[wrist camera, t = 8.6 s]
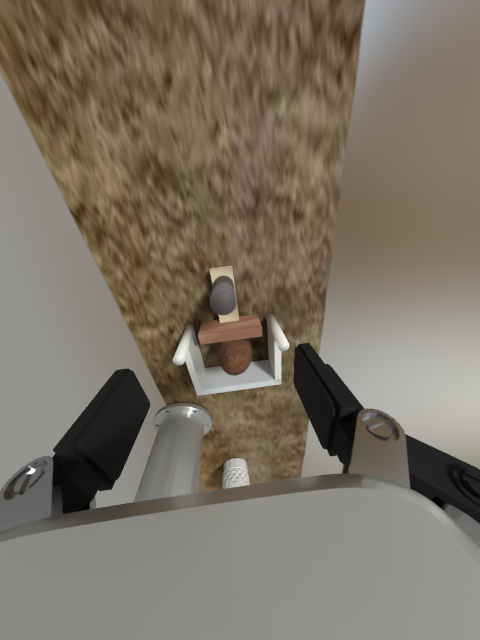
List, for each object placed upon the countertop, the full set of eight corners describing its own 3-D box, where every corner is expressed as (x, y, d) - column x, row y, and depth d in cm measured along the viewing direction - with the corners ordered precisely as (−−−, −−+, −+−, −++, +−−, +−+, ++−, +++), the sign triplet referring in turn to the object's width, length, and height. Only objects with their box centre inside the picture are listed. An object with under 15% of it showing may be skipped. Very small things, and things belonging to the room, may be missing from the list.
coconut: (212, 337, 30) (208, 372, 22) (233, 319, 28) (236, 349, 21) (233, 354, 32) (235, 390, 25) (254, 337, 30) (263, 370, 23)
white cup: (231, 472, 53) (232, 520, 44) (216, 463, 50) (214, 513, 41) (253, 463, 51) (259, 512, 43) (238, 453, 48) (241, 503, 39)
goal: (185, 325, 28) (171, 357, 21) (273, 313, 28) (289, 341, 21) (200, 373, 33) (193, 412, 26) (275, 363, 33) (288, 399, 26)
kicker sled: (188, 271, 24) (174, 288, 17) (253, 262, 24) (264, 276, 17) (203, 330, 28) (196, 361, 22) (258, 322, 28) (267, 351, 22)
